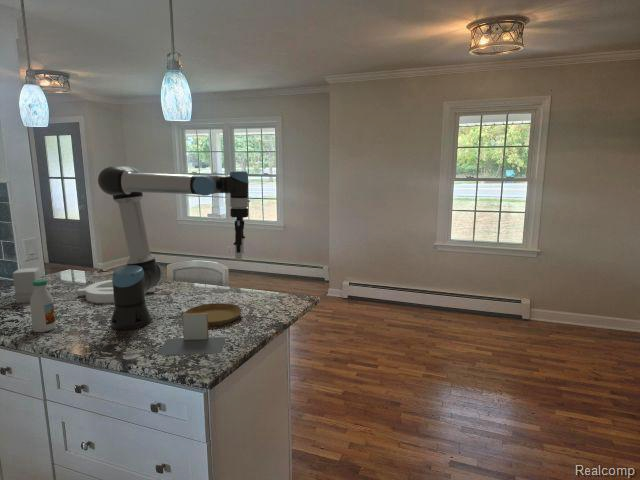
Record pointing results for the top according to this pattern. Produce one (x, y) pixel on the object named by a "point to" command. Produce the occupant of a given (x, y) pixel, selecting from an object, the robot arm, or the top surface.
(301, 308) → the top surface
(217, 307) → the plant saucer
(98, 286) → the ring with crossbar
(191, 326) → the tile
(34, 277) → the supplement box
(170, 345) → the mat
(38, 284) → the milk bottle
